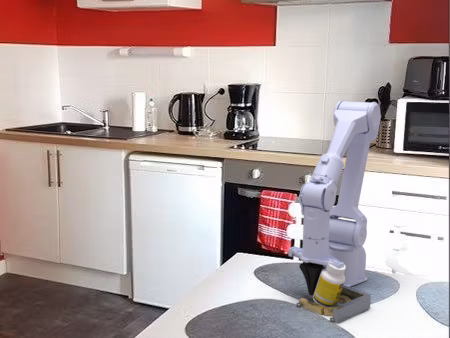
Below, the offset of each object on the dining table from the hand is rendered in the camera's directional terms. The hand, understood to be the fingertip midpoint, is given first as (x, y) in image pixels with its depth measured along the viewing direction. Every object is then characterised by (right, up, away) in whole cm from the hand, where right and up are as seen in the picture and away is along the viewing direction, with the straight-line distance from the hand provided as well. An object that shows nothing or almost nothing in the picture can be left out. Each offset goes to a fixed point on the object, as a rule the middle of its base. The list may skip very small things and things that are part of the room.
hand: (313, 294), depth 129 cm
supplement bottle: (+2, -1, -2) cm, 3 cm away
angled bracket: (+3, -2, -3) cm, 5 cm away
